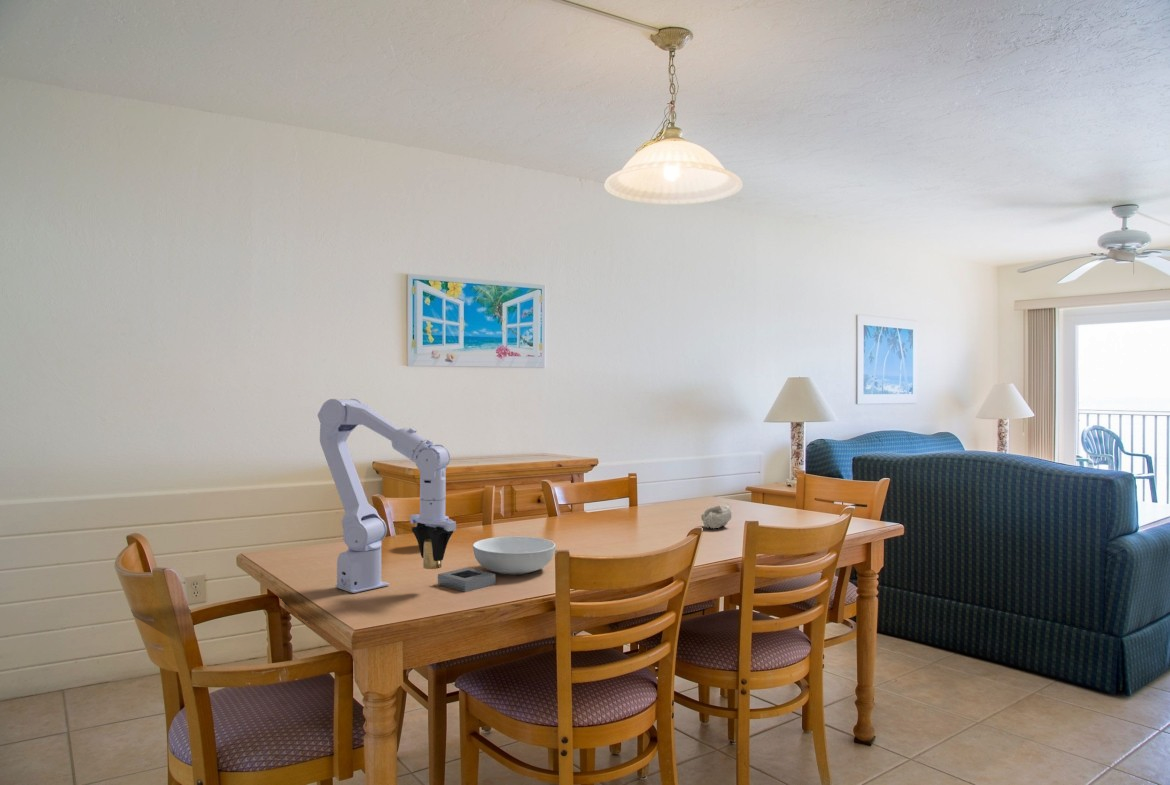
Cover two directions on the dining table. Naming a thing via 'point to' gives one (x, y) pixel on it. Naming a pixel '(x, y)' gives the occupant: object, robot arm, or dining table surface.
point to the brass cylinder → (429, 556)
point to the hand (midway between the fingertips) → (432, 558)
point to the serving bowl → (514, 554)
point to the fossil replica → (716, 516)
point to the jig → (466, 579)
